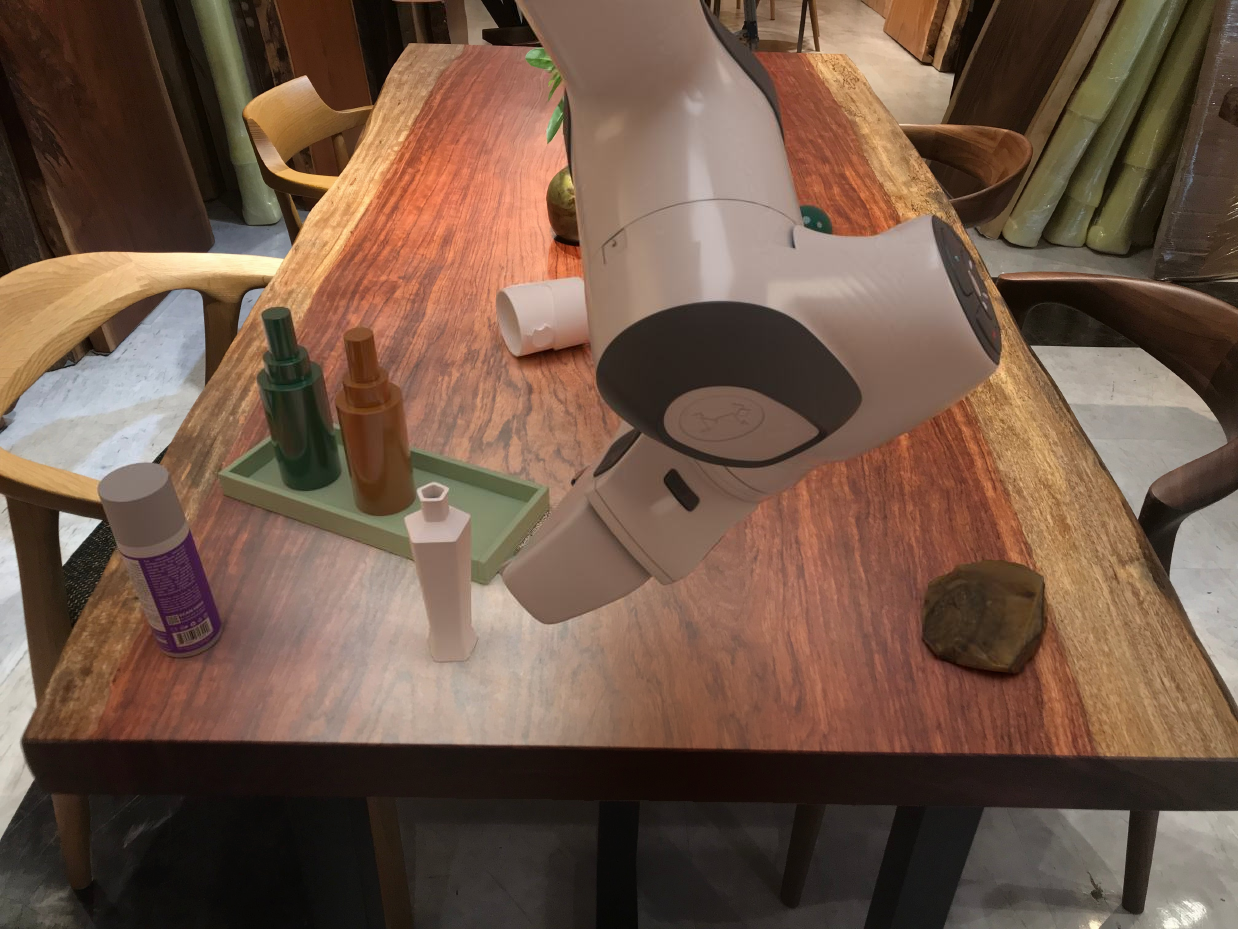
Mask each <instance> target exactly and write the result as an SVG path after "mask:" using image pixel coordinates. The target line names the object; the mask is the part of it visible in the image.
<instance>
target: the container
mask: <svg viewBox="0 0 1238 929" xmlns="http://www.w3.org/2000/svg"><path fill="white" fill-rule="evenodd" d="M96 488H97V489H96V490H97V494H98V497H99V500H100V503H101V505H102V508H103V511H104V513H105V516H106V519H107V521H108V524H109V527H110V530H111V533H112V535H113V538H114V540H115V543H116V544H115V545H116V546H117V549H118V552H119V555H120V557H121V559H122V562H123V564H124V566H125V569H126V571H127V573H128V576H129V579H130V580H131V583H132V585H133V588H134V590H135V593H136V595H137V598H138V600H139V603H140V606H141V607H142V610H143V613H144V615H145V617H146V619H147V623H148V624H149V628H150V630H151V632H152V634H153V637H154V639H155V641H156V644H157V647H158V648H159V650H160V651H161V653H162V654H164V655H166V656H168V657H171V658H177V659H178V658H179V659H180V658H182V659H183V658H188V657H193V656H196V655H199V654H201V653H203V652H206V651H207V650H209V649H210V648H211V647H212V646H214V644H216V643H217V642H218V640H219V639H220V637H221V635H222V634H223V623H222V619H221V617H220V613H219V611H218V607H217V605H216V601H215V599H214V596H213V592H212V590H211V587H210V584H209V581H208V578H207V575H206V572H205V569H204V567H203V564H202V560H201V557H200V555H199V551H198V548H197V545H196V542H195V540H194V536H193V533H192V530H191V528H190V525H189V522H188V519H187V517H186V515H185V512H184V510H183V507H182V504H181V501H180V499H179V496H178V493H177V490H176V489H175V485H174V483H173V481H172V478H171V475H170V473H169V470H168V468H166V467H165V466H163V465H162V464H159V463H156V462H136V463H129V464H126V465H124V466H121V467H118V468H116V469H114V470H112V471H111V472H109V473H107V474H106V475H105V476H103V477H102V479H101V480H100V481H99V483H98V485H97V487H96Z"/></svg>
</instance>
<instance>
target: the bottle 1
mask: <svg viewBox="0 0 1238 929" xmlns="http://www.w3.org/2000/svg"><path fill="white" fill-rule="evenodd" d="M260 318H261V321H262V325H263V330H264V335H265V339H266V342H267V347H268V350H266V351H265V352H264V353H263V354H262V362H263V366H264V368H261V369H260V371H259V372H258V373H257V375H256V383H257V389H258V392H259V396H260V401H261V404H262V408H263V412H264V416H265V419H266V424H267V427H268V431H269V436H271V440H272V444H273V448H274V452H275V456H276V460H277V464H278V468H279V472H280V476H281V480H282V482H283V483H284V485H286V486H287V487H288V488H291V489H293V490H298V491H311V490H317V489H321V488H324V487H326V486H328V485H330V484H332V483H333V482H335V481H336V480H337V479H338V478H339V476H340V475H341V472H342V465H341V460H340V455H339V450H338V445H337V440H336V435H335V430H334V425H333V423H334V421H333V416H332V412H331V406H330V401H329V395H328V390H327V386H326V381H325V376H324V370H323V368H322V366H321V365H320V364H319V363H317V362H316V361H313V360H310V355H309V351H308V349H307V348H306V347H305V346H303V345H300V344H299V343H298V339H297V335H296V329H295V325H294V321H293V315H292V311H291V309H290V308H289V307H286V306H272V307H268V308H266V309H264V310H262V311H261V313H260Z"/></svg>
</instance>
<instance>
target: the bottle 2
mask: <svg viewBox="0 0 1238 929" xmlns="http://www.w3.org/2000/svg"><path fill="white" fill-rule="evenodd" d="M342 338H343V345H344V349H345V356H346V360H347V366H348V370H347V371H345V372H344V374H343V375H342V377H341V382H342V388H341V389H340V390H339V391H338V392H337V393H336V395H335V398H334V406H335V409H336V414H337V419H338V424H339V425H340V430H341V436H342V441H343V446H344V451H345V456H346V461H347V466H348V471H349V477H350V482H351V487H352V492H353V497H354V502H355V505H356V507H357V508H358V509H359V510H360V511H361V512H363V513H365V514H368V515H373V516H387V515H392V514H396V513H399V512H401V511H403V510H405V509H406V508H408V507H409V506H410V505H411V504H412V503H413V502H414V500H415V498H416V488H415V481H414V474H413V467H412V460H411V453H410V446H411V445H410V441H409V433H408V426H407V419H406V418H407V417H406V412H405V404H404V397H403V392H402V390H401V388H400V387H399V386H398V385H397V384H395V383H393V382H391V381H390V376H389V372H388V370H387V369H386V368H384V367H382V366H380V365H379V360H378V354H377V348H376V342H375V336H374V331H373V330H372V329H371V328H369V327H365V326H360V327H359V326H357V327H352V328H349V329H347V330H346V331H344V332H343V334H342ZM409 445H410V446H409Z"/></svg>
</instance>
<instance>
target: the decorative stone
mask: <svg viewBox="0 0 1238 929" xmlns="http://www.w3.org/2000/svg"><path fill="white" fill-rule="evenodd" d="M1045 589H1046V582H1045V577H1044V576H1043V575H1042V574H1040V573H1039V572H1036V570H1033V569H1032V568H1031V567H1029V566H1027V565H1025V564H1022V563H1020V562H1015V561H1009V560H1005V559H997V560H995V559H985V560H980V561H973V562H970V563H967V564H966V563H965V564H963V563H962V564H957V565H955V567H954V569H952V570H951V571H950V572H947V573H946V574H943V575H939V576H937V577H935V578H934V579H933V580H931V581H929V583H928V585H927V590H926V591H925V593H924V595H923V596H924V597H923V608H922V610H921V624H922V632H923V634H922V635H921V636H922V639H923V641H924V642H925V643H926V644H927V645H929V647H930V649H931V650H932V652H933V653H934V654H935V655H936V656H937V657H938V658H939V659H940V660H944V661H948V662H951V663H953V664H955V665H958V666H961V667H969V668H972V669H977V670H983V671H990V672H998V673H1009V674H1019V673H1022V672H1023V671H1024V670H1025V667H1026V665H1027V663H1028V661H1029V660H1030V659H1031V658H1032V657H1035V655H1036V654H1037V653H1038V652H1039V651H1040V648H1041V646H1042V642H1043V637H1044V634H1045V633H1046V631H1047V627H1048V612H1049V605H1048V603H1047V600H1046V598H1045Z"/></svg>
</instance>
